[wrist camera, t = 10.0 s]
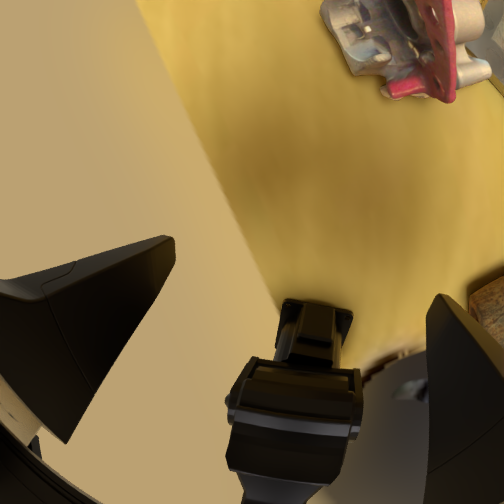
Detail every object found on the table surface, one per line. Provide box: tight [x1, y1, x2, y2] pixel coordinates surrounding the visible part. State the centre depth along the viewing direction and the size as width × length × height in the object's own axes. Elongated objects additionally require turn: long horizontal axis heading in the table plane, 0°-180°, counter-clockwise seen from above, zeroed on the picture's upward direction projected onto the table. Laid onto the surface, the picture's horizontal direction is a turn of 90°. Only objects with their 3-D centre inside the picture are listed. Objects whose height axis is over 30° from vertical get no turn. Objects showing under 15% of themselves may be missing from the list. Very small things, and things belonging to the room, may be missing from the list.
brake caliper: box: [320, 0, 492, 103], centre depth 9 cm, size 11×11×12 cm
